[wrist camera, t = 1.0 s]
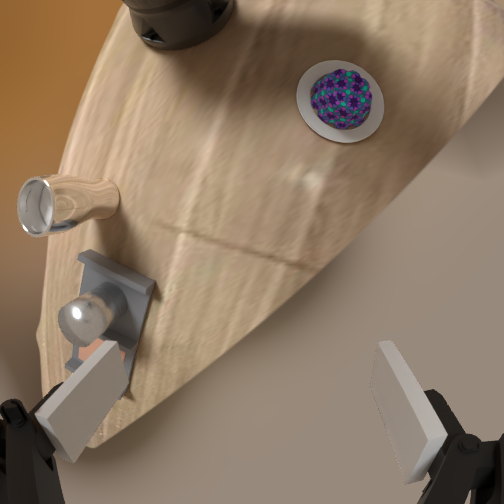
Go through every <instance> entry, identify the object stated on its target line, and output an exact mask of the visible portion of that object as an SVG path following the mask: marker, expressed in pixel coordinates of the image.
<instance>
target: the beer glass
mask: <svg viewBox="0 0 504 504" xmlns="http://www.w3.org/2000/svg"><path fill="white" fill-rule="evenodd" d="M119 199H120V197H119V191H118V188H117V186H116V185H115V184H114V182H112V181H111V180H109V179H107V178H100V179H96V180H93V181H88V180H85V179H81V178H78V177H75V176H70V175H60V174H58V175H46V176H40V177H32V178H30V179H28V180H27V181H26V182H25V183H24V185H23V186H22V188H21V190H20V192H19V196H18V201H17V211H18V217H19V221H20V224H21V226H22V228H23V229H24V230H25V232H26V233H28V234H29V235H30V236H32V237H42V236H49V235H55V234H60V233H64V232H67V231H70V230H72V229H74V228H76V227H78V226H80V225H82V224H84V223H85V222H87V221H89V220H91V219H94V218H96V219H107V218H109V217H111V216H112V215H113V214H114V213H115V212H116V210H117V208H118V205H119Z"/></svg>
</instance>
